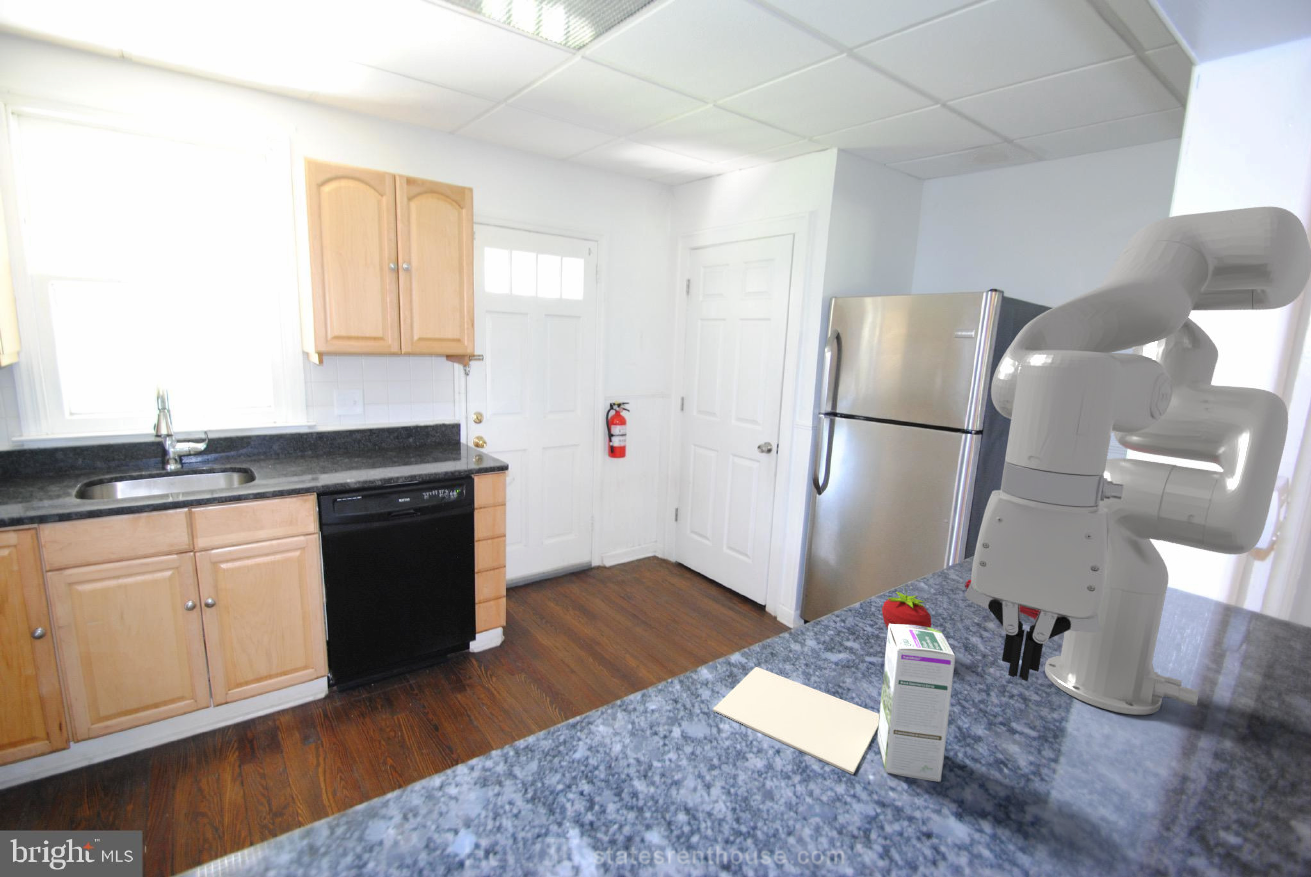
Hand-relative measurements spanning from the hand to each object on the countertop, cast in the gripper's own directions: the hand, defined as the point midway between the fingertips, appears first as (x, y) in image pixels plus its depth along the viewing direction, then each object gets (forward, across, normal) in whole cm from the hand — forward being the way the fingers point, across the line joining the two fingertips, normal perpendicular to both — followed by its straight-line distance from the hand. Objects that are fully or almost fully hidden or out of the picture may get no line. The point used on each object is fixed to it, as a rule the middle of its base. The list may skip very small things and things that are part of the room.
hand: (1018, 672), depth 56 cm
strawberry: (+14, +15, -26) cm, 33 cm away
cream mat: (+14, +21, -1) cm, 26 cm away
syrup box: (+14, +9, -1) cm, 17 cm away
